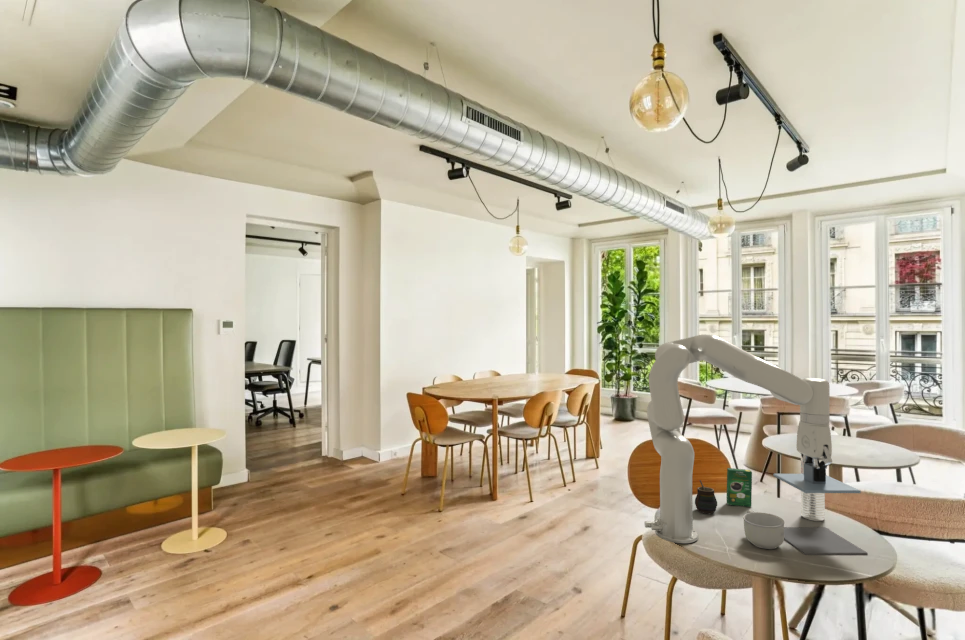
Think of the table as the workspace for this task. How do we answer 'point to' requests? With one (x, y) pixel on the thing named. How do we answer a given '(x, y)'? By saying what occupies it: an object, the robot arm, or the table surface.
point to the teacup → (764, 529)
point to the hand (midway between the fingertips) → (814, 478)
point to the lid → (810, 486)
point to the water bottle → (812, 502)
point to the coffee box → (739, 487)
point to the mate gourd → (705, 500)
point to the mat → (820, 541)
